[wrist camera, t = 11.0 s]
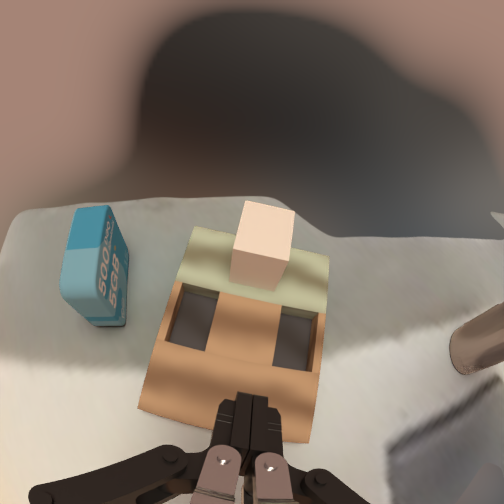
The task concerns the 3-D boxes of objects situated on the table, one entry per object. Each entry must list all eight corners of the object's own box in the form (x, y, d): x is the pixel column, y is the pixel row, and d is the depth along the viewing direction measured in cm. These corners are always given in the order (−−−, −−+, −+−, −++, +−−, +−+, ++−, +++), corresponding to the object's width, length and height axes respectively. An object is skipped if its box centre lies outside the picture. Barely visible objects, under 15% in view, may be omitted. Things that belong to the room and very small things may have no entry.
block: (274, 291, 36) (288, 261, 30) (228, 281, 36) (232, 248, 30) (281, 247, 40) (294, 211, 33) (239, 238, 40) (245, 200, 33)
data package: (126, 328, 34) (93, 292, 24) (96, 329, 33) (56, 294, 23) (129, 252, 40) (108, 199, 30) (103, 253, 39) (76, 202, 29)
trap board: (301, 441, 29) (308, 443, 26) (143, 408, 29) (137, 408, 26) (322, 266, 43) (329, 256, 40) (195, 237, 43) (194, 225, 40)
